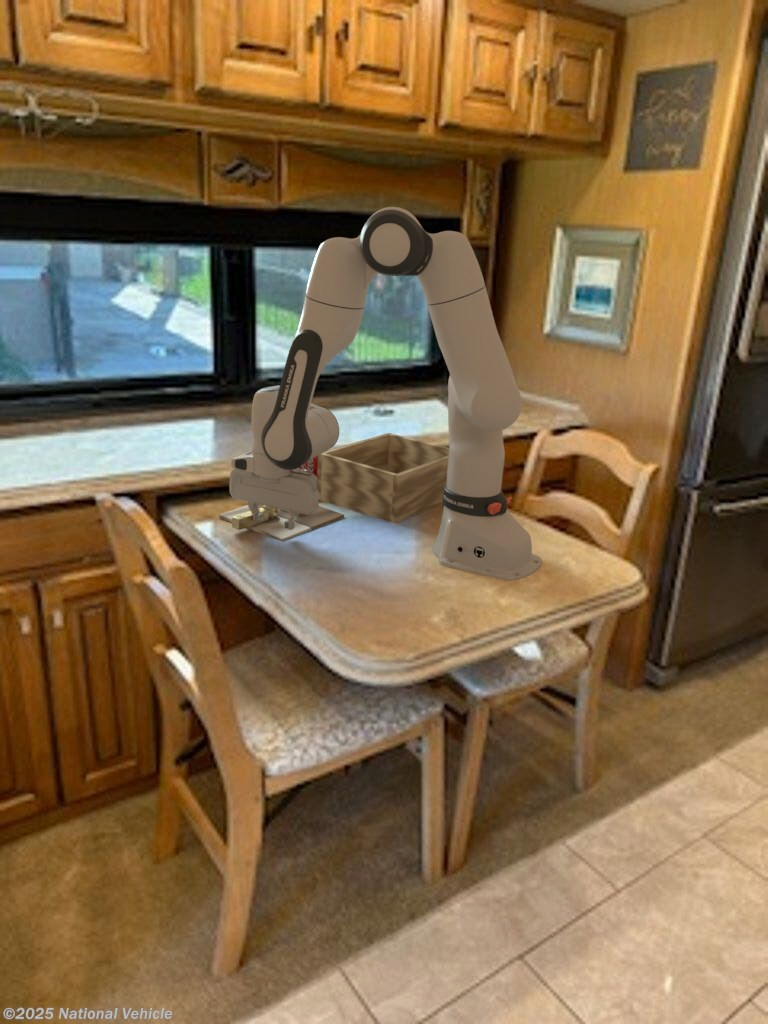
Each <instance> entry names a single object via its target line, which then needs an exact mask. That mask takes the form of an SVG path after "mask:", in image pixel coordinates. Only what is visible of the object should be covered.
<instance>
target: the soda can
mask: <svg viewBox="0 0 768 1024" xmlns="http://www.w3.org/2000/svg"><path fill="white" fill-rule="evenodd" d="M298 468H300V469H304V470H310V471H312V473H313V474H314V475H315V476H316V477H317V480H318V456H316V457H314V458H312V459H310V460H308V461H307V462H306V463H304V464H303V465H301V466H300V467H298ZM311 476H313V475H311Z"/></svg>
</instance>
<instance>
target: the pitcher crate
mask: <svg viewBox="0 0 768 1024" xmlns="http://www.w3.org/2000/svg"><path fill="white" fill-rule="evenodd" d="M448 458H449V446H448V447H447V446H443V445H439V444H435V443H431V442H427V441H422V440H419V439H414V438H410V437H406V436H403V435H398V434H396V433H395V434H394V433H390V432H387V433H384V434H383V433H382V434H381V435H377V436H373V437H370V438H367V439H363V440H360V441H359V440H358V441H356V442H352V443H349V444H347V445H346V444H345V445H342V446H338V447H335V448H330V449H329V450H327V451H325V452H323V453H321V454H320V455H318V482H317V491H318V501H320V502H324V503H326V504H330V505H333V506H336V507H340V508H342V509H343V508H344V509H347V510H349V511H352V512H356V513H358V514H359V513H360V514H362V515H366V516H370V517H372V518H375V519H379V520H382V521H386V522H389V523H392V524H394V525H396V524H398V523H400V522H402V521H404V520H405V521H406V520H408V519H409V518H412V517H414V516H417V515H419V514H421V513H423V512H426V511H429V510H431V509H433V508H435V507H434V506H436V507H438V506H440V505H442V504H441V503H443V492H444V486H445V485H446V483H447V470H448ZM439 504H440V505H439ZM437 505H438V506H437ZM432 507H433V508H432ZM430 508H431V509H430ZM428 509H429V510H428Z"/></svg>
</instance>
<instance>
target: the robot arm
mask: <svg viewBox="0 0 768 1024" xmlns="http://www.w3.org/2000/svg"><path fill="white" fill-rule="evenodd" d="M482 272H483V271H482V269H481V266H480V264H479V261H478V259H477V257H476V253H475V252H474V249H473V248H472V245H471V243H470V241H469V239H468V237H467V236H466V235H465V234H463V233H461V232H459V231H454V230H444V231H440V232H437V233H430V232H427V231H426V230H425V229H424V228H423V227H422V225H421V223H420V221H419V220H418V219H417V217H416V216H415V215H413V213H411V212H410V211H408V210H407V209H404V208H402V207H397V206H387V207H384V208H380V209H379V210H377V211H375V212H374V213H372V215H371V216H370V217H369V218H368V219H367V221H366V222H365V223H364V225H363V227H362V229H361V232H360V233H359V234H358V235H357V237H354V238H350V237H349V238H348V237H343V236H342V237H341V236H338V237H331V238H327V239H326V240H324V241H323V242H322V243H320V245H319V247H318V249H317V252H316V254H315V257H314V259H313V262H312V266H311V268H310V273H309V276H308V281H307V284H306V291H305V295H304V300H303V307H302V310H301V314H300V319H299V323H298V326H297V329H296V332H295V335H294V338H293V339H292V340H293V341H291V342H292V343H291V346H290V347H289V351H288V354H287V358H286V361H285V364H284V369H283V373H282V377H281V380H280V384H279V385H278V384H277V385H272V386H266V387H263V388H260V389H258V390H257V391H256V392H255V394H254V395H253V400H252V405H251V407H252V408H251V432H252V435H253V441H252V445H251V451H248V452H246V453H242V454H240V455H237V456H235V457H233V458H232V459H231V460H230V465H231V468H232V469H231V471H230V474H229V484H228V485H229V494H230V495H231V497H232V499H233V500H238V501H243V502H247V505H248V507H249V509H250V511H251V513H252V514H253V521H254V522H259V523H260V522H262V521H263V513H260V511H259V509H258V506H257V505H258V504H260V505H265V506H269V507H274V508H278V509H283V510H287V511H289V515H290V516H291V518H290V519H288V520H287V521H285V529H288V530H292V529H294V527H295V520H296V519H297V517H298V516H299V514H300V513H301V514H305V515H309V514H311V513H313V512H315V511H316V510H317V509H318V506H319V505H320V503H319V501H320V500H318V491H317V482H318V480H317V477H316V476H315V475H314V474H313V473H312V471H310V470H304V469H300V468H298V467H300V466H301V465H303V464H304V463H306V462H307V461H308V460H310V459H312V458H314V457H316V456H318V455H320V454H321V453H323V452H325V451H328V450H331V449H333V447H334V446H335V445H336V444H337V442H338V440H339V437H340V426H339V422H338V420H337V418H336V416H335V414H334V413H333V412H332V411H331V410H330V409H328V408H327V407H324V406H319V405H317V404H315V403H312V401H313V397H314V393H315V390H316V386H317V383H318V379H319V377H320V375H321V373H322V372H323V370H324V369H325V367H326V366H328V364H329V363H330V362H331V361H332V360H333V359H334V358H336V356H338V355H339V354H340V353H341V352H343V351H344V350H345V349H346V348H348V347H349V346H350V345H351V344H352V343H353V342H354V340H355V338H356V336H357V334H358V331H359V329H360V326H361V323H362V318H363V315H364V309H365V304H366V298H367V294H368V289H369V286H370V283H371V281H372V279H374V277H375V276H377V274H380V275H384V276H388V277H389V276H390V277H406V276H407V277H412V276H413V277H417V279H418V281H419V283H420V285H421V288H422V291H423V294H424V297H425V298H424V299H425V301H426V306H427V309H428V313H429V315H430V319H431V322H432V326H433V330H434V333H435V338H436V340H437V344H438V347H439V349H440V351H441V353H442V356H443V359H444V361H445V362H444V363H445V364H446V366H447V370H448V372H449V377H448V381H447V382H448V383H447V390H448V391H447V392H448V395H447V400H448V402H447V403H448V404H447V406H448V408H447V415H448V416H447V417H448V418H447V419H448V420H447V423H448V425H447V426H448V427H447V428H448V448H449V458H448V470H447V483H446V485H445V486H444V492H443V504H442V515H441V521H440V526H439V530H438V533H437V537H436V539H435V542H434V544H433V547H432V551H433V553H434V555H435V556H436V557H437V559H438V564H439V565H440V566H443V567H447V568H450V569H455V570H460V571H464V572H468V573H472V574H478V575H481V576H484V577H485V576H486V577H489V578H490V577H491V578H494V579H498V580H502V581H507V582H508V581H509V582H511V581H517V580H522V579H525V578H527V577H529V576H532V575H533V574H535V573H536V572H537V571H538V570H539V569H540V568H541V567H542V557H540V556H538V555H537V554H534V553H533V552H532V551H533V549H532V548H533V546H532V545H533V543H532V538H531V535H530V532H529V531H527V530H526V529H525V528H524V527H523V525H521V523H520V522H518V520H517V519H516V518H515V516H513V515H512V514H511V513H510V512H509V511H508V504H510V503H512V498H513V497H512V496H510V497H506V496H505V495H504V492H503V489H502V484H503V476H504V465H505V458H506V457H505V455H506V452H505V446H504V436H503V431H504V430H506V429H507V428H510V427H511V426H512V425H513V424H515V422H516V421H517V420H518V418H519V416H520V415H521V413H522V408H523V399H522V395H521V392H520V389H519V387H518V385H517V382H516V379H515V376H514V373H513V369H512V366H511V364H510V361H509V358H508V355H507V353H506V351H505V347H504V344H503V342H502V340H501V337H500V335H499V332H498V328H497V326H496V322H495V318H494V315H493V310H492V305H491V303H490V299H489V295H488V292H487V287H486V284H485V283H486V282H485V280H484V276H483V273H482ZM311 475H313V476H311Z"/></svg>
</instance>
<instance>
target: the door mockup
mask: <svg viewBox="0 0 768 1024" xmlns="http://www.w3.org/2000/svg"><path fill="white" fill-rule="evenodd" d="M257 506H258V508H260V507H261V505H260V504H258V505H257ZM248 511H250V509H249V507H248V504H246V505H244V506H240V507H238V508H235V509H232V510H228V511H225V512H222V513H220V514H218V518H219V519H221V520H224V521H226V522H229V523H231V524H232V517H233V516H236V515H239V514H242V513H245V512H248ZM290 518H291V516H290V515H289V511H287V510H283V509H278V517H277V518H276V519H272V520H266V521H263V522H260V523H258V524H255V525H252V526H249V527H246V528H245V529H249V530H251V531H254V532H257V533H260V534H262V535H265V536H268V537H270V538H272V539H276V540H278V541H282V542H283V541H286V540H288V539H291V538H293V537H297V536H299V535H302V534H304V533H308V532H309V531H312V530H315V529H317V528H319V527H323V526H326V525H328V524H330V523H333V522H336V521H339V520H341V519H343V518H345V514H344V513H341V512H338V511H334V510H332V509H329V508H326V507H323V506H318V509H317V510H316V511H315V512H313V513H311V514H309V515H305V514H301V513H300V514H299V516H298V517H297V519H296V520H295V527H294V529H292V530H288V529H285V521H287V520H288V519H290Z"/></svg>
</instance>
